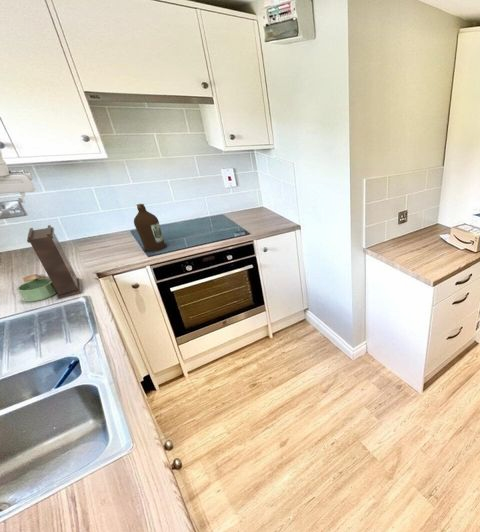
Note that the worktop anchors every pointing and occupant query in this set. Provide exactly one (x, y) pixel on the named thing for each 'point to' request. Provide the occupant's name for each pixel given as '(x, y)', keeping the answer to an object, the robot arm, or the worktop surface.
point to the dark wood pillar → (54, 261)
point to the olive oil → (149, 229)
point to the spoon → (33, 277)
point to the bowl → (37, 289)
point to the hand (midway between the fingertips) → (6, 203)
